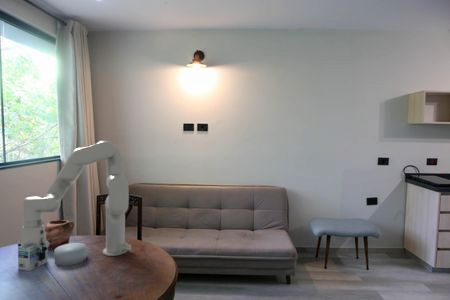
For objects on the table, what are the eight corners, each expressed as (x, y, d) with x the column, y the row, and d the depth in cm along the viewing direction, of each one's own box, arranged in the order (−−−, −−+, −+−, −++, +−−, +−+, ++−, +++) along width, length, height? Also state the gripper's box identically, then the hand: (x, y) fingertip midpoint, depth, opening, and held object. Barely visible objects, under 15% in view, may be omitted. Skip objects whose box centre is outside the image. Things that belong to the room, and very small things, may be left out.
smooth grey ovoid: (92, 255, 150) (92, 244, 150) (73, 267, 137) (73, 255, 136) (68, 252, 153) (68, 241, 153) (47, 264, 139) (47, 252, 139)
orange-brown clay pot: (63, 238, 173) (63, 215, 172) (81, 240, 171) (81, 217, 170) (35, 251, 153) (35, 225, 152) (56, 253, 151) (56, 227, 150)
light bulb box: (29, 271, 132) (29, 248, 131) (17, 269, 133) (17, 246, 132) (48, 261, 142) (48, 240, 142) (36, 260, 143) (36, 238, 143)
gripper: (55, 222, 138) (55, 257, 139) (24, 219, 141) (24, 253, 142) (42, 227, 131) (42, 264, 132) (10, 224, 134) (10, 260, 135)
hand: (33, 258), depth 137 cm, fingers open, 9 cm apart
